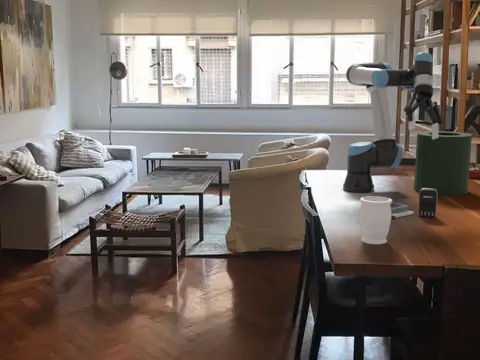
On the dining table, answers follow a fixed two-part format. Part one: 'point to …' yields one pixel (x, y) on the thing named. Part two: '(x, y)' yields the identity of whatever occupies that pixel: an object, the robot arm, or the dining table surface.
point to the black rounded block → (427, 202)
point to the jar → (375, 219)
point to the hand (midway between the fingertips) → (423, 133)
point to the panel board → (399, 210)
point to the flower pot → (443, 162)
